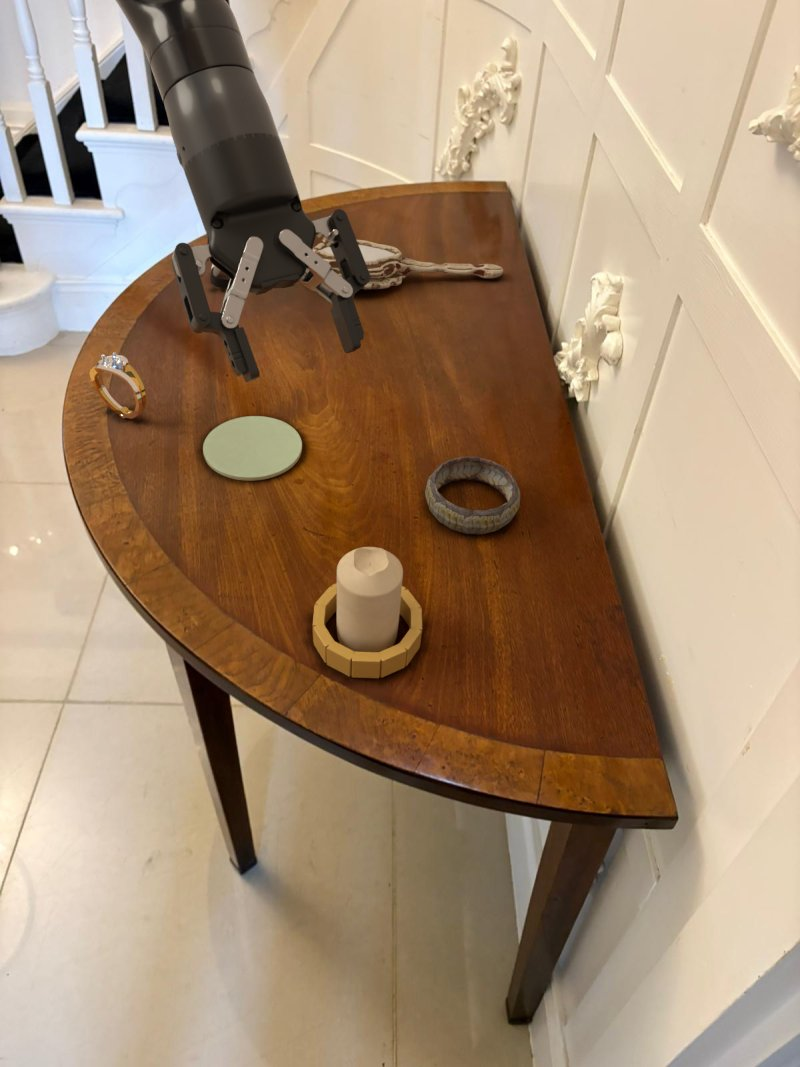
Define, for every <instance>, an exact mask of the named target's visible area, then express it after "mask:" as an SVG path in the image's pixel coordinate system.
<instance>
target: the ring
mask: <svg viewBox="0 0 800 1067" xmlns="http://www.w3.org/2000/svg"><path fill="white" fill-rule="evenodd" d="M100 357H101V359H100V360H98V361H97V362H96V364H95V365H94V366H93V367H92V368H91V369H90V370H89V372H88V374H89V379H90V381H91V383H92V385H93V387H94V389H95V391H96V392H97V394H98V395H99V397H100V399H102V401H103V402H104V403H105V404H106V405H107V406H108V407H109V408H110V409H111V410H112V411H113V412H114V413H116V414H117V415H118V416H119V417H120V418H121V419H129V420H130V419H134V418H136V417H138V416H140V415H141V414H142V413H143V412H144V411H145V408H146V405H147V394H146V390H145V386H144V383H143V381H142V378H141V376H140V375H139V374H138V372H137V371H136V369H134V367H133V366H132V365H130V364H129V360H128V358H127V357H126V356H124V355H121V354H117V352H116V351H114V352H112V355H107V356H106V354H104V353H102V354H101V355H100ZM104 372H105V373H109V374H111V375H114V376H116V377H118V378H120V379H121V380H122V381H123V382H124V383H126V385H127V386H128V387H129V389H130V391H131V392H132V394H133V397H134V400H135V408H134V410H130V409H129V408H128V407H127V406H122V405H120V404H119V402H117V401H116V400H115V399H114V398H113V396H112V395H111V394H110V393H109V391H108V390H107V388H106V386H105V383H104V381H103V380H104V379H103V373H104Z"/></svg>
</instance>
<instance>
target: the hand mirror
mask: <svg viewBox="0 0 800 1067" xmlns="http://www.w3.org/2000/svg"><path fill="white" fill-rule="evenodd" d="M356 240H357V242H358V245H359V248H360V250H361V253H362V255H363V258H364V260H365V263H366V266H367V268H368V271H369V273H370V277H371V279H370V281H369V283H368V284H366V285H365V286H364V287H362V288H361V289H363V290H384V289H388V288H390V287H392V286H395V287H397V286H400V285H401V284H402V282H403V280H405V278H406V277H407V276H408V275H410V274H411V275H412V274H426V273H427V274H428V273H429V274H433V273H440V272H441V273H445V274H448V275H457V276H469V275H471V276H472V275H473V276H477V277H479V278H481V279H485V280H488V279H496V278H499V277H501V276H503V273H504V268H503V267H502V266H500V265H497V264H495V263H494V264H493V263H482V264H481V263H480V264H472V263H453V262H452V263H451V262H444V263H442V264H437V263H435V262H429V261H427V262H426V261H419V260H415V259H412V258H408V257H405V256H403V253H402V252H401V251H400V249H399V248H398V247H395V246H393V245H388V244H382V243H381V244H379V243H377V242H372V241H369V240H365V239H363V240H362V239H356ZM312 250H313V251H314V252H315V253H317V254H318V255H319V256H320V257H322V258H323V259H324V260H325V261H327V262H328V263H329V264H330V265H331V267H332V270H333V271H334V272H336V273H337V274H338V275H339V276H341V277H342V275H341V272H340V270H339V267H338V265H337V262H336V260H335V257H334V255H333V252H332V250H331V247H327V246H326V245H324V243H323V242H320V243H318V244H317V245H315V246H313V247H312Z"/></svg>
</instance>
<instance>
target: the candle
mask: <svg viewBox="0 0 800 1067" xmlns="http://www.w3.org/2000/svg"><path fill="white" fill-rule="evenodd" d="M403 579H404V569H403V565H402V563H401V561H400V560H399V558H398V557H397V556H396V555H394V554H393V553H391V552H390V551H388V550H385V549H384V548H382V547H376V546H362V547H357V548H355V549H353V550H351V551H349V552H347V553H345V554H344V555H343V556H342V557H341V558H340V560H339V561H338V564H337V566H336V583H337V611H336V636H337V639H338V643H339V644H341V645H343V646H345V647H347V648H349V649H351V650H353V651H355V652H381V651H383V650H385V649H388V648H390V647H392V646H395V644H396V641H397V639H398V634H399V623H400V601H401V590H402V586H403Z"/></svg>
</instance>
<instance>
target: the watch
mask: <svg viewBox="0 0 800 1067" xmlns="http://www.w3.org/2000/svg"><path fill="white" fill-rule="evenodd" d="M211 264H212V263H211ZM221 272H222V271H221V270H219V269H218V268H217V267H216V266H214V265H213V264H212V265H211V268H210V283H211V285H213V286H214V287H216V288H218V289H226V290H227V287H228V284H229V281H230V278H221V277H218V276H219V275H220V273H221Z"/></svg>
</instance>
